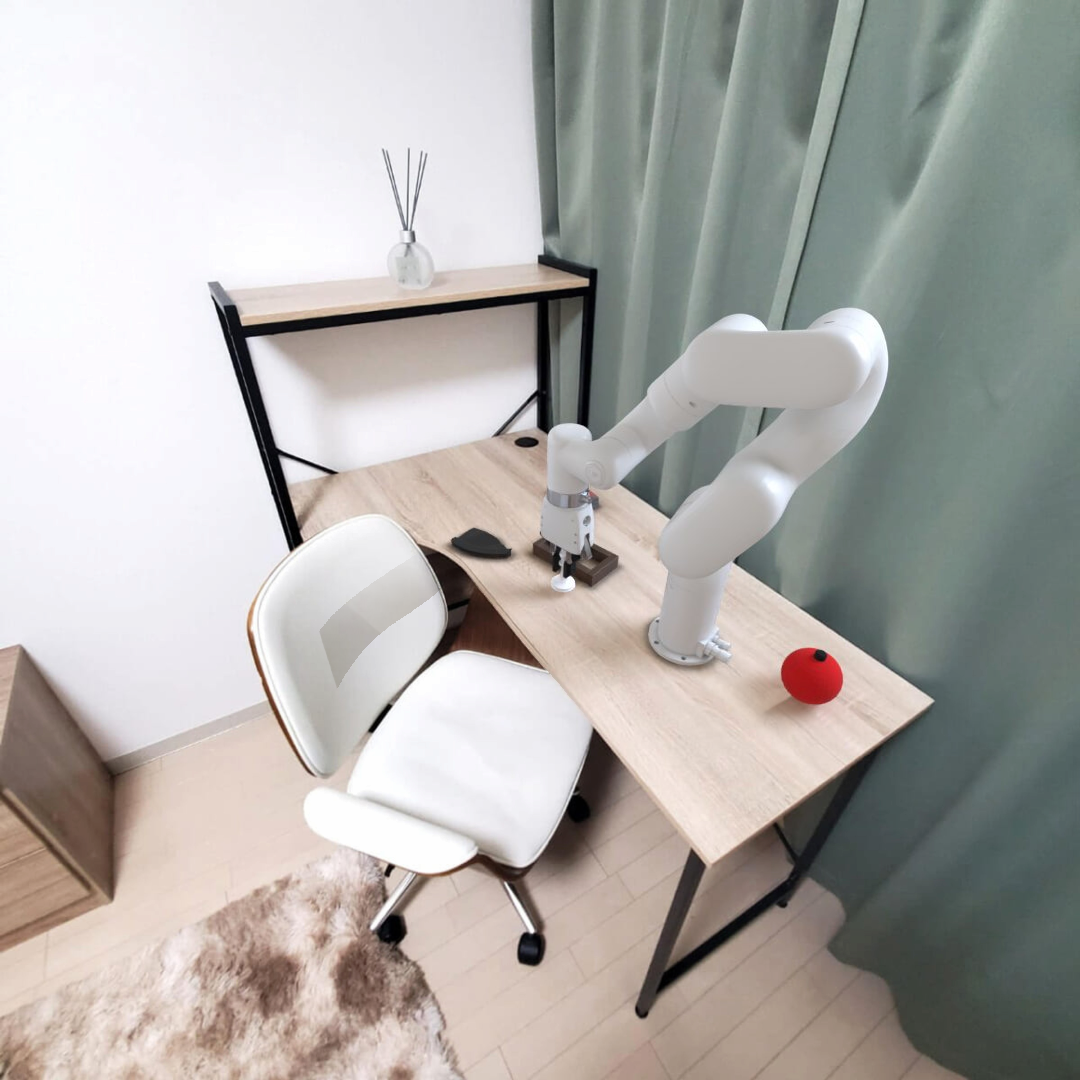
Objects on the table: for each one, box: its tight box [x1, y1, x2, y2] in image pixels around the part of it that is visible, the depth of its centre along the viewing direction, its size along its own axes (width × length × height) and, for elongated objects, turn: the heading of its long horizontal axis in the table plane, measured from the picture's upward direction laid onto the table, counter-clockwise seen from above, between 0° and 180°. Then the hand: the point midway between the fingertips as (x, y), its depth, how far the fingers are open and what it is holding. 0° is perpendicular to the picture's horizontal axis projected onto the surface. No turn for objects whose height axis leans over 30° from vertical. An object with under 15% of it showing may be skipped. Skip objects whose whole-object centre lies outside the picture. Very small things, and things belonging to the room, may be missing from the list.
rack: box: [532, 536, 619, 588], centre depth 117 cm, size 17×9×3 cm, turn 47°
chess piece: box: [550, 548, 576, 593], centre depth 105 cm, size 5×5×10 cm
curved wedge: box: [450, 527, 513, 559], centre depth 120 cm, size 8×14×2 cm, turn 52°
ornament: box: [780, 647, 844, 706], centre depth 85 cm, size 9×9×10 cm
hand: (563, 571), depth 106 cm, fingers closed on chess piece
